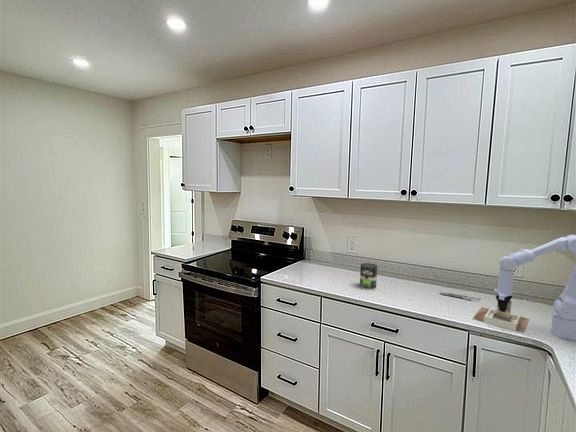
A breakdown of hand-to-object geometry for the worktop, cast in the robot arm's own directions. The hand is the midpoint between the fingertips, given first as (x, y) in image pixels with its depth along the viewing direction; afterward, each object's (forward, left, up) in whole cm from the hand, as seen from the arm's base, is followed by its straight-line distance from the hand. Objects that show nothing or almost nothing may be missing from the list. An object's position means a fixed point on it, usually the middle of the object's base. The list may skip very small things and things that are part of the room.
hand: (502, 310), depth 145 cm
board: (+1, -4, -6) cm, 8 cm away
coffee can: (+70, -1, -7) cm, 70 cm away
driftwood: (+24, -24, -7) cm, 35 cm away
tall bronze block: (0, 0, -3) cm, 3 cm away
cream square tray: (0, 0, -6) cm, 6 cm away
